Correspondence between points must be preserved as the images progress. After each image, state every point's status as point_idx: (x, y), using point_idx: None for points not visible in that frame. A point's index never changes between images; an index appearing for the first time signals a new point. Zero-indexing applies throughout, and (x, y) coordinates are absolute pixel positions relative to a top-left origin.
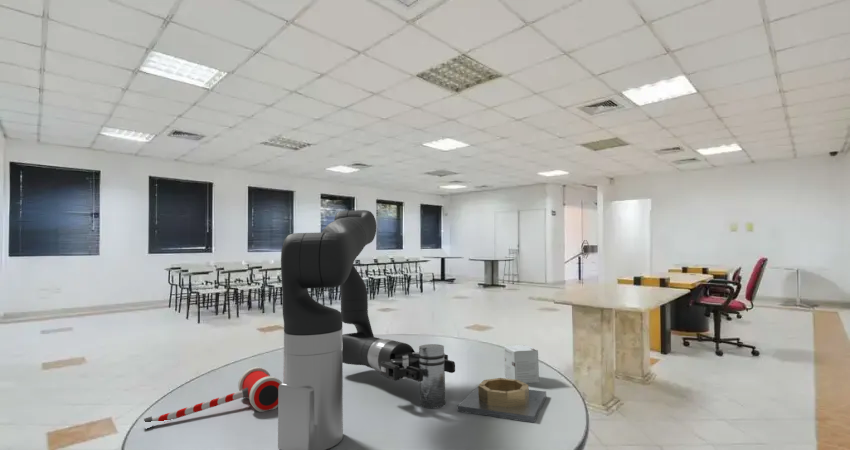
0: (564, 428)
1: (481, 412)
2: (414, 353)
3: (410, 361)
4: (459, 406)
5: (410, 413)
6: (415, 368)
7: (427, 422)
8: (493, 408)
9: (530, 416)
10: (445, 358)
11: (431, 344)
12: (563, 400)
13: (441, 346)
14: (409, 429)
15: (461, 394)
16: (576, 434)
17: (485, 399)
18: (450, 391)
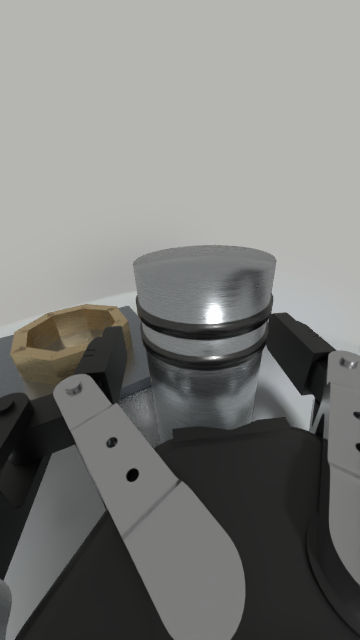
0: (122, 300)
1: None
2: (218, 539)
3: (302, 432)
4: None
5: (296, 419)
6: (296, 325)
7: (266, 365)
8: (140, 332)
9: (129, 307)
10: (32, 404)
11: (165, 273)
12: (17, 330)
13: (159, 253)
14: None
15: (68, 457)
16: (128, 293)
17: (126, 343)
18: (52, 522)
